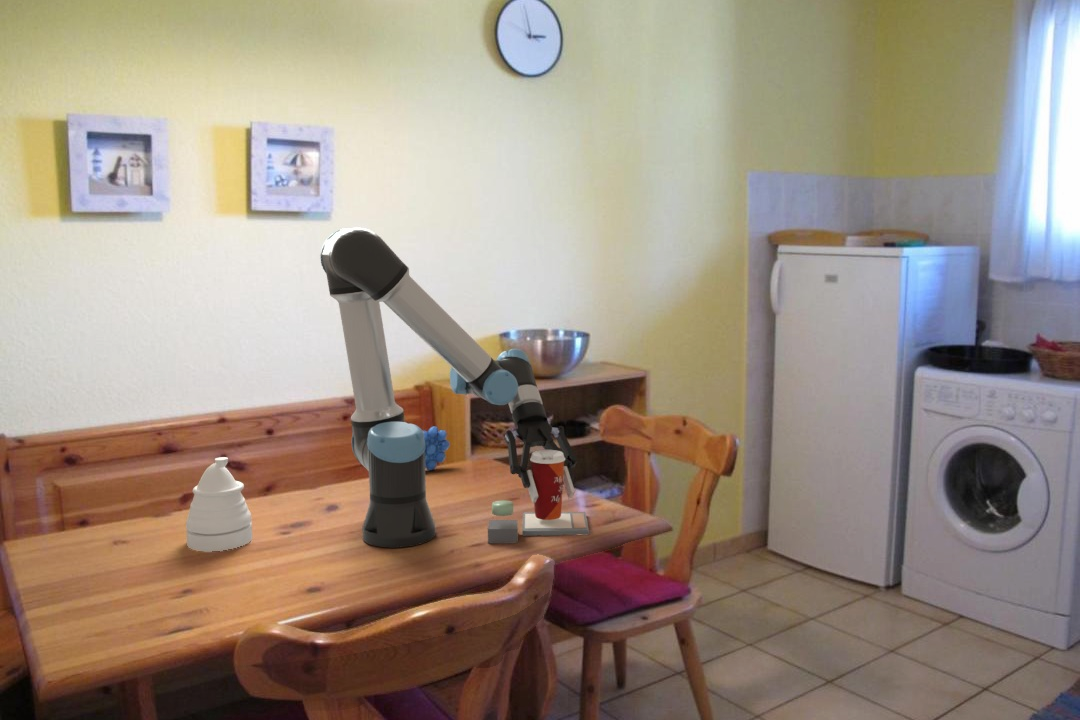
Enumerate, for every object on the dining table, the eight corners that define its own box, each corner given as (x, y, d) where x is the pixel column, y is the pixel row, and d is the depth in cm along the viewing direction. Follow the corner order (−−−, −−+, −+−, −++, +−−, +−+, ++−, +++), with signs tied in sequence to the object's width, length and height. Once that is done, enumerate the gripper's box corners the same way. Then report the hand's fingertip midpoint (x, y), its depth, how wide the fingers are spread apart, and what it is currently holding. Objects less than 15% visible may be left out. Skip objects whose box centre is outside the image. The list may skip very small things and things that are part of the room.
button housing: (488, 543, 185) (487, 529, 185) (489, 533, 191) (489, 520, 191) (517, 542, 186) (517, 528, 185) (517, 533, 191) (517, 519, 191)
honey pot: (265, 538, 190) (261, 454, 187) (213, 556, 179) (208, 468, 177) (226, 528, 197) (221, 447, 194) (174, 544, 186) (168, 459, 184)
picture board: (522, 535, 190) (522, 530, 190) (523, 516, 203) (523, 511, 203) (588, 534, 190) (588, 529, 190) (585, 516, 203) (585, 511, 203)
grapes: (442, 464, 251) (441, 421, 249) (453, 469, 245) (452, 425, 243) (404, 470, 245) (402, 426, 243) (414, 475, 239) (413, 431, 237)
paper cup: (565, 521, 192) (565, 457, 190) (529, 521, 192) (529, 457, 191) (565, 510, 200) (565, 448, 198) (530, 510, 200) (530, 448, 198)
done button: (491, 516, 186) (491, 506, 185) (492, 509, 190) (492, 500, 190) (513, 515, 186) (513, 506, 185) (513, 509, 190) (513, 500, 190)
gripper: (564, 415, 211) (592, 500, 199) (480, 422, 204) (504, 511, 192) (573, 396, 206) (602, 483, 193) (487, 403, 199) (511, 493, 186)
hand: (553, 497), depth 192 cm, fingers closed on paper cup, 8 cm apart
